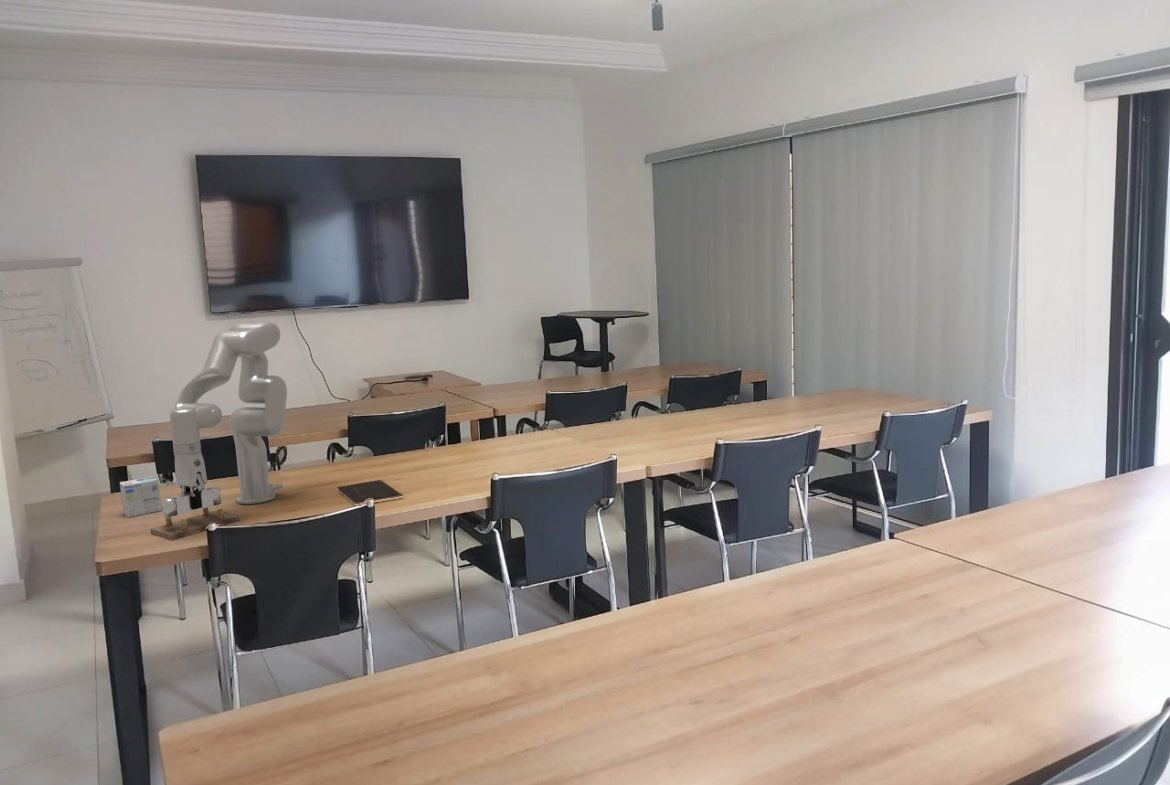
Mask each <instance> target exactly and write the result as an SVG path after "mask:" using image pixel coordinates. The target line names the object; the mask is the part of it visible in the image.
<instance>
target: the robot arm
mask: <svg viewBox="0 0 1170 785" xmlns="http://www.w3.org/2000/svg"><path fill="white" fill-rule="evenodd" d="M280 338H281V331H280V328H279V326H278V325H277V324H276V323H274V322H271V321H244V322H243V321H241V322H236V323H234V324H231V326H230V328H229V330H223V331H220V332H219V333H217V334H216V335H215V337H214V339H213V341H212V344H211V346H210V349H209V352H208V354H207V358H206V360H205V362H204V365H203V368H202V370H201V371H200V372H199V373H198V374H197V375H195V376H194V377H193V378H192V379H191V380H189V382H187V384H186V385H185V386H184V387H183V388H182V389H181V390H180V392H179V395H178V397H177V400H176V403H175V406H174V408H173V409H172V410H171V411H170V412H169V413H170V414H169V419H170V420H169V422H170V428H171V437H172V446H173V447H172V448H173V455H174V470H175V472H174V473H175V480H176V483H177V485H178V486H179V487H180V489H181V495H182V494H186V493H190V492H191V496H192V497H190V500H191V509H192V510H195V509H199V508H202V499H201V495H202V490H204V489H206V486H205V485H207V483H208V477H207V472H206V465H205V464H206V463H205V460H204V456H203V453H202V447H201V446H202V444H201V437H200V430H201V429H211V428H214V427H216V426H218V425H219V424H220V423H221V420H222V419H223V412H222V409H221V408H220V407H219V406H218V405H215V403H214V404H213V403H198V401H199V399H201V397H203V396H204V395H205V394H206V393H208V392H210V391H212V390H214V389H216V388H219V387H221V386H222V385H225V384H228V382H230V380H231V377H232V374H233V372H234V371H233V370H234V369H235V365H236V363H237V360H238V358H240V361H241V364H240V365H241V366H240V375H239V381H238V382H239V383H238V392H237V393H238V398H239V400H240V401H241V402H243V403H245V404H251V405H252V404H253V405H259V404H261V405H264V407H258V406H257V407H256V406H250V407H249V406H247V407H239V408H237V409H235V410H234V411H232V413H231V414H230V416H229V427H230V430H231V433H232V438H233V440H234V445H235V447H234V448H235V452H236V454H235V455H236V464H237V473H238V474H237V475H238V483H239V484H238V485H239V490H240V491H239V492H240V495H238V496H237V497H236V498H235V502H236V503H237V504H241V505H254V504H255V505H256V503H257V504H261V503H262V502H263V503H266V501H267V502H270V501H273V500H274V499H276V492H275V490H279V489H282V488H283V487H284V485H283V483H282V482H278V483H270V474H269V465H268V464H269V463H268V455H267V454H268V453H267V447H266V444H265V442H264V440H263V438H262V437H274V436H277V435H279V434H280V433H281V432H282V430H283V427H284V425H285V424H284V423H285V416H286V415H285V414H286V405H287V399H288V397H287V396H288V389H287V388H288V387H287V384H286V382H285V380H284V379H283V378H282V377H280V376H279V375H272V374H271V375H268V373H269V372H268V371H269V359H268V357H267V355H266V353H265V352H267V351H269V350H271V349H273V348H274V347H276V346H277V344H279V342H280V340H281V339H280ZM269 500H270V501H269ZM199 510H200V509H199ZM195 511H196V510H195Z"/></svg>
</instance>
